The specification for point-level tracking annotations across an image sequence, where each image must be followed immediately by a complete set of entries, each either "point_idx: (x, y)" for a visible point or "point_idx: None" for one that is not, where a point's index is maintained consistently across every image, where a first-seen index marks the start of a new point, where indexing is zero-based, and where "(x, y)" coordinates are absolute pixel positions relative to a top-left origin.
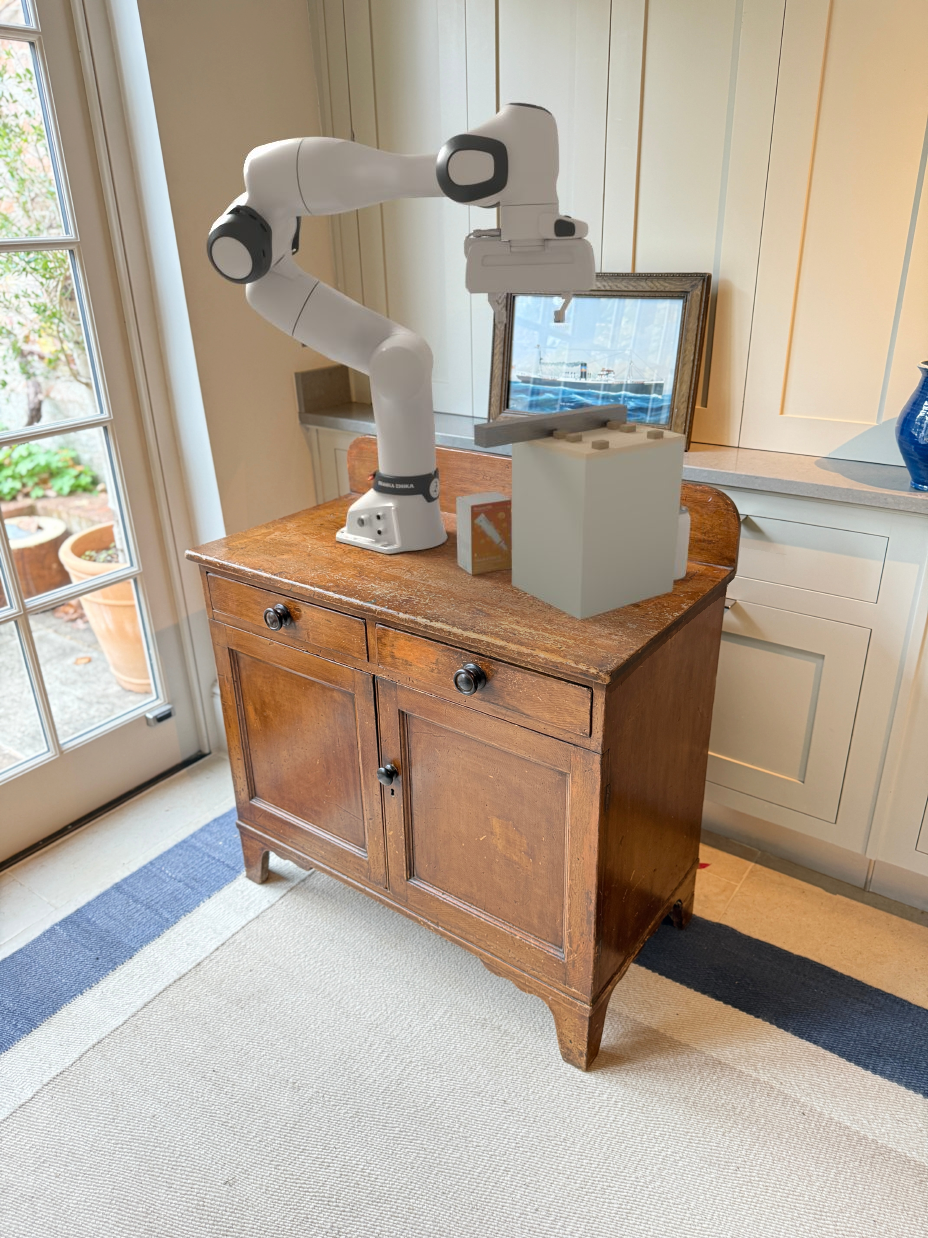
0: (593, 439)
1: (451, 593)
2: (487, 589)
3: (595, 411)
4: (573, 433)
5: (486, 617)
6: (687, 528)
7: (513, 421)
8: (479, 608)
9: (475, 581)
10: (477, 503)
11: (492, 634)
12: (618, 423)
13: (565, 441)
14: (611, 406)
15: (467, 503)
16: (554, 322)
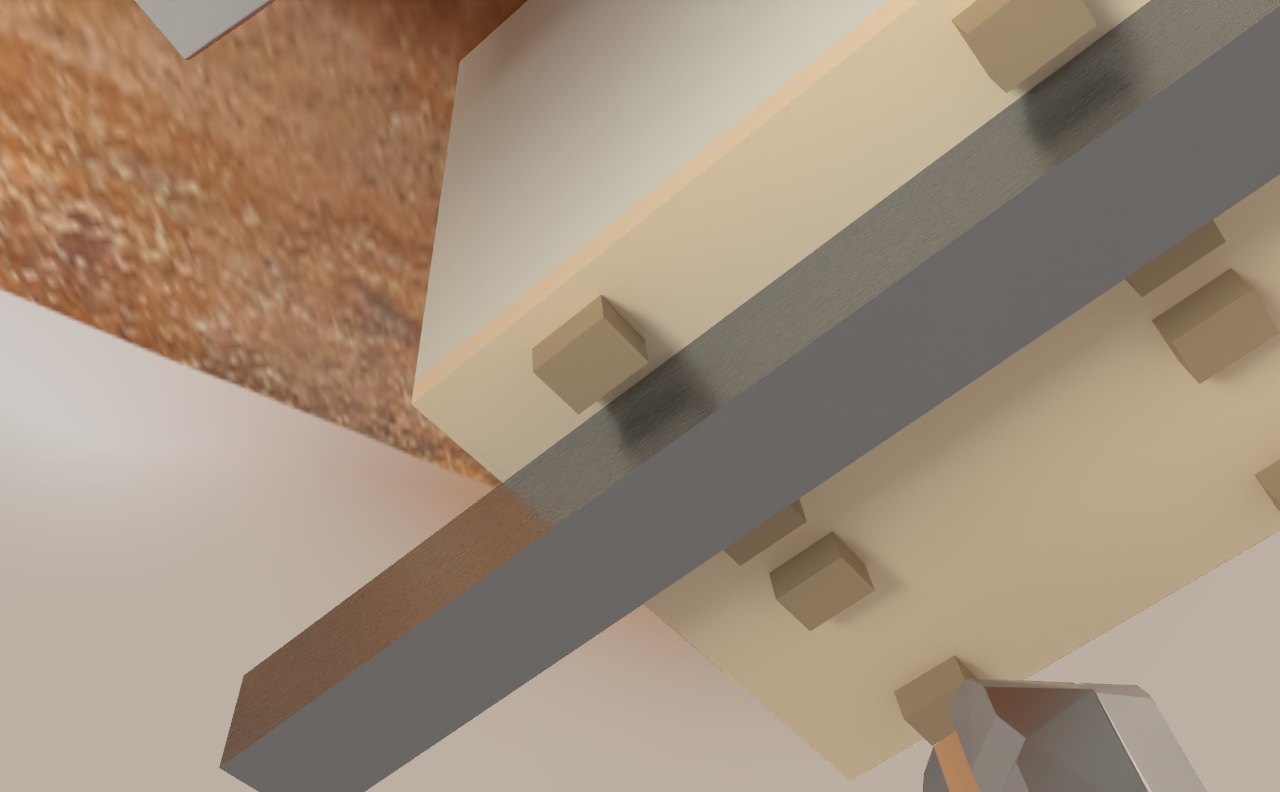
0: (936, 527)
1: (231, 163)
2: (366, 111)
3: (1047, 326)
4: (825, 571)
5: (415, 351)
6: None
7: (454, 680)
8: (375, 286)
9: (294, 27)
10: (211, 22)
11: (457, 456)
12: (1183, 264)
13: (768, 579)
14: (1225, 158)
15: (149, 16)
16: (925, 781)
